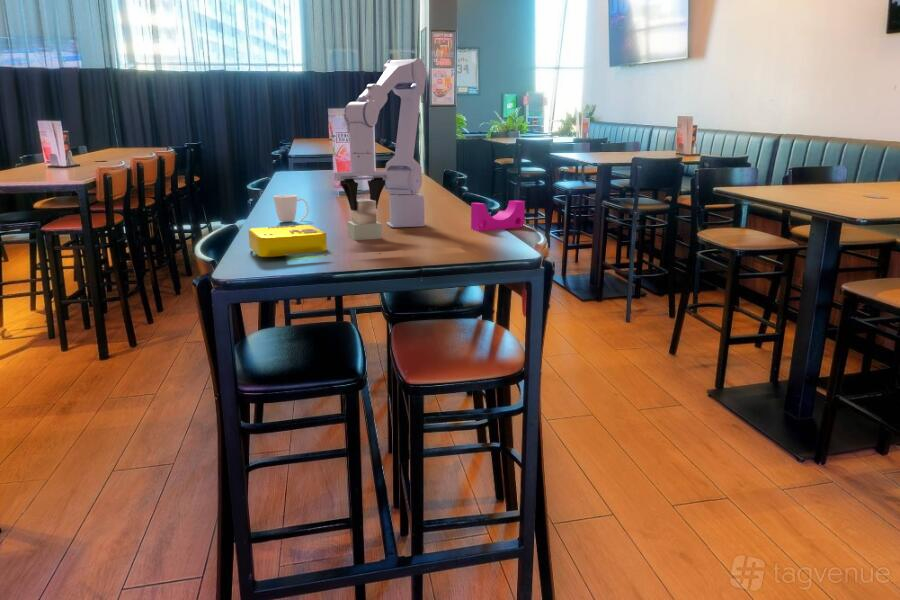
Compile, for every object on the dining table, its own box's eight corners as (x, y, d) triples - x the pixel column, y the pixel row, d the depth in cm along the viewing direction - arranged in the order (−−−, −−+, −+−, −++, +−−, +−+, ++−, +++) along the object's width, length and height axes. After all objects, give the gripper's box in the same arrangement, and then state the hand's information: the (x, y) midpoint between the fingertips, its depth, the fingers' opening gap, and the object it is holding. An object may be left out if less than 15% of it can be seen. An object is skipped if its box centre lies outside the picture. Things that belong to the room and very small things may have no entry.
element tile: (312, 242, 148) (311, 222, 147) (329, 252, 135) (328, 231, 134) (248, 246, 142) (246, 226, 140) (260, 258, 129) (258, 235, 127)
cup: (271, 223, 177) (269, 195, 174) (304, 221, 182) (303, 193, 180) (279, 226, 171) (277, 197, 169) (313, 223, 176) (311, 195, 174)
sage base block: (374, 235, 158) (374, 220, 157) (382, 239, 152) (381, 223, 151) (348, 237, 156) (347, 221, 154) (354, 241, 149) (353, 225, 148)
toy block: (510, 225, 175) (511, 199, 173) (523, 228, 170) (524, 201, 168) (466, 229, 168) (466, 202, 166) (478, 232, 163) (478, 204, 161)
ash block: (368, 220, 156) (367, 199, 154) (376, 222, 152) (375, 200, 151) (352, 222, 153) (351, 199, 152) (360, 224, 150) (359, 201, 148)
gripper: (380, 152, 155) (381, 206, 159) (327, 153, 147) (330, 209, 151) (394, 153, 150) (395, 208, 153) (340, 154, 142) (342, 212, 145)
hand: (363, 209), depth 152 cm, fingers open, 5 cm apart
